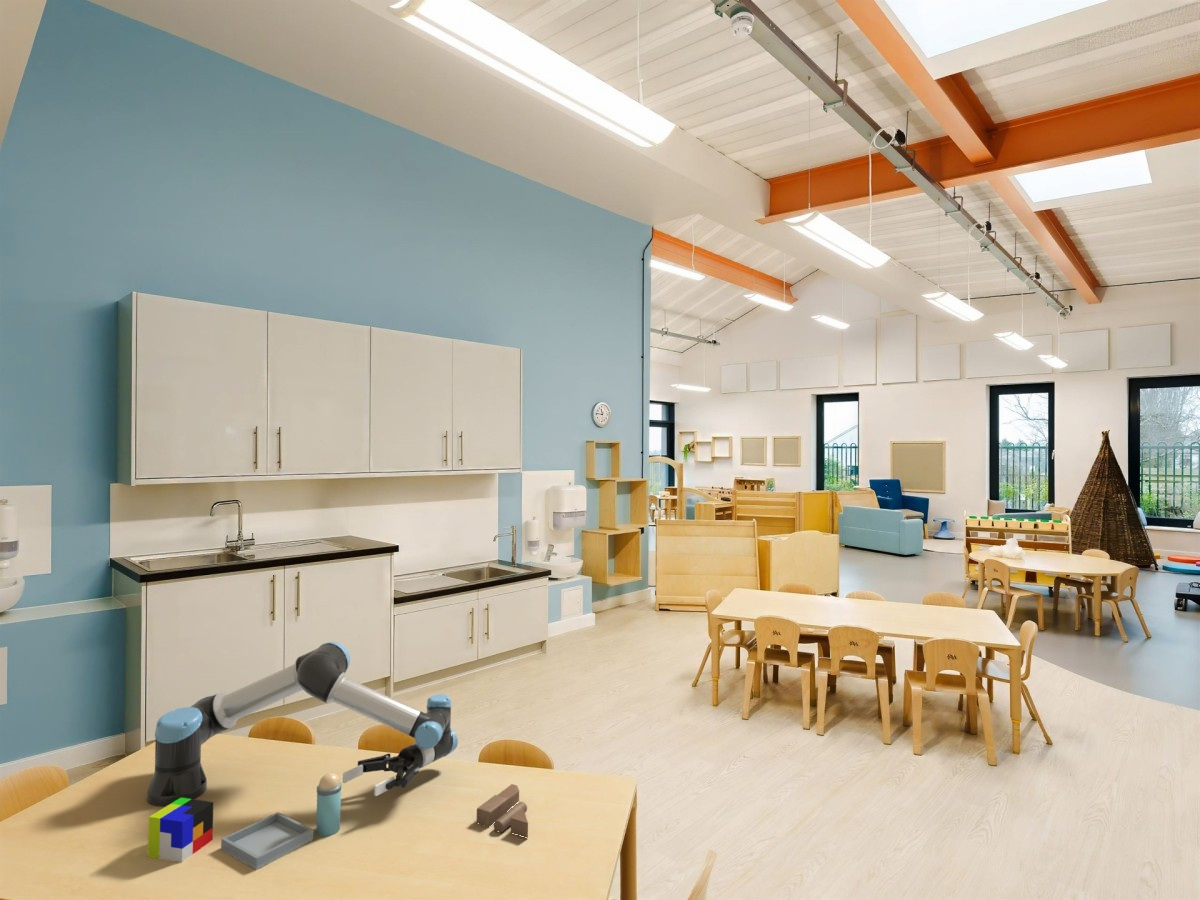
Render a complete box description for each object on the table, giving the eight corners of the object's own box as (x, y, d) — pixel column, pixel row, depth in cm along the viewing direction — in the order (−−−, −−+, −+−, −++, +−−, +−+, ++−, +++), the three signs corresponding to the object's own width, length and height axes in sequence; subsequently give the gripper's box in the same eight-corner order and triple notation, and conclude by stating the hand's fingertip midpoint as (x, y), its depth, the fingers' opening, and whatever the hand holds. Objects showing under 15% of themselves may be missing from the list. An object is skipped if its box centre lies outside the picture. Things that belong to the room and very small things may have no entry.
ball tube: (310, 831, 183) (312, 775, 183) (330, 821, 189) (331, 766, 189) (325, 839, 180) (326, 781, 180) (345, 828, 185) (346, 772, 185)
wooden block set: (474, 806, 188) (510, 779, 205) (473, 826, 188) (510, 798, 204) (525, 821, 181) (559, 792, 197) (525, 842, 181) (559, 812, 197)
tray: (221, 849, 174) (221, 838, 174) (277, 822, 188) (277, 812, 188) (256, 870, 166) (256, 858, 166) (313, 840, 179) (313, 829, 179)
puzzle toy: (181, 862, 169) (182, 821, 169) (147, 856, 171) (148, 816, 171) (212, 840, 179) (213, 802, 179) (179, 835, 181) (180, 797, 181)
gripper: (445, 779, 204) (389, 810, 186) (388, 759, 217) (330, 786, 199) (445, 754, 204) (389, 782, 186) (388, 735, 217) (331, 760, 199)
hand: (359, 784), depth 193 cm, fingers open, 13 cm apart
